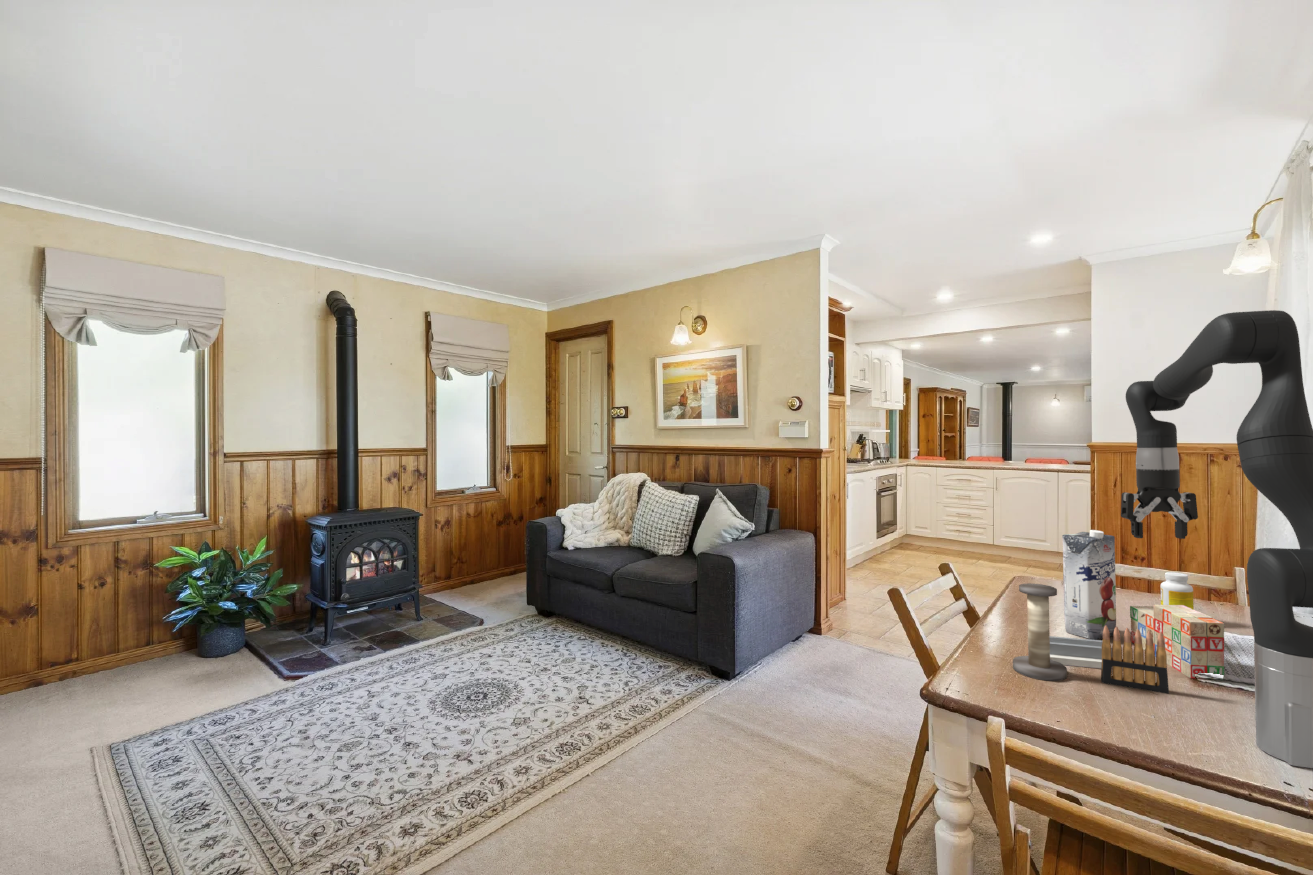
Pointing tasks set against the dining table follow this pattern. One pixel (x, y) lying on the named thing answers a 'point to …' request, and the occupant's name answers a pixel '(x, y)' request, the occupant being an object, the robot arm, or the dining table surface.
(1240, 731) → the dining table surface
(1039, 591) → the bobbin post
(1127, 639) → the ammunition clip
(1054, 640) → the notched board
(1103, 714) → the dining table surface
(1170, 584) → the supplement bottle
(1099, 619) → the juice carton
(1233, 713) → the dining table surface
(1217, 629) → the stack of blocks
